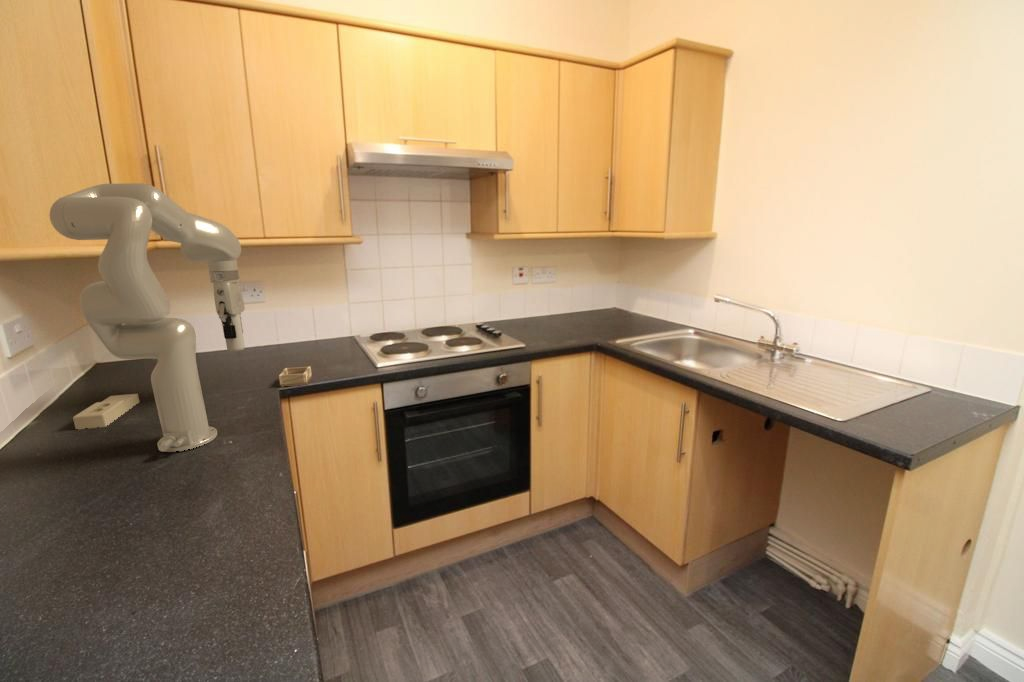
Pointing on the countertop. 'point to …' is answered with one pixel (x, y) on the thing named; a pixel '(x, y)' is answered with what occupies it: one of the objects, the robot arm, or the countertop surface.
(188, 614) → the countertop surface
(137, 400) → the electrical outlet
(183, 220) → the robot arm
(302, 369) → the can holder block
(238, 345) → the beverage can
